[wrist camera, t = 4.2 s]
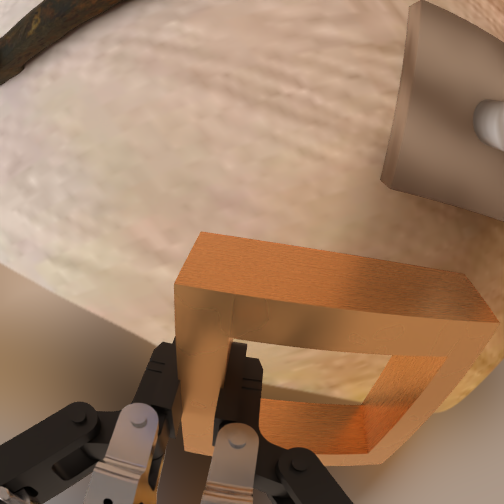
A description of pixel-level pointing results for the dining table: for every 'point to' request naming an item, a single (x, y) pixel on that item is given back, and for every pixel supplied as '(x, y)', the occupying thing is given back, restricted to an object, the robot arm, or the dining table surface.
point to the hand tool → (44, 30)
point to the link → (324, 339)
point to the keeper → (449, 114)
